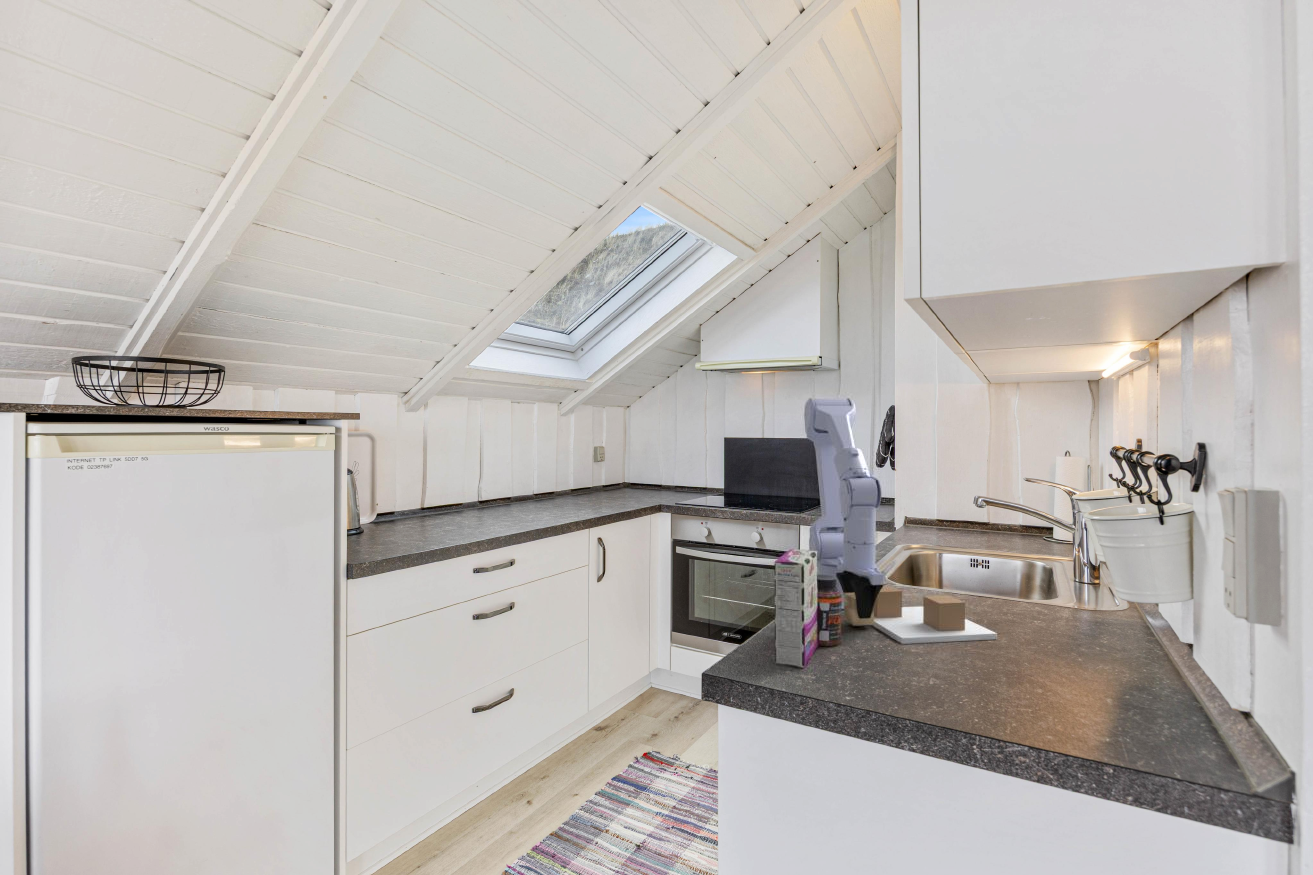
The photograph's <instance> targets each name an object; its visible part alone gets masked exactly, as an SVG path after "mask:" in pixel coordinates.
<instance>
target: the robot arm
mask: <svg viewBox="0 0 1313 875" xmlns="http://www.w3.org/2000/svg"><path fill="white" fill-rule="evenodd" d="M856 410H857V409H856V405H855V402H854V401H853V399H852V398H850V397H849V398H813V397H809V398H808V399H807V401H806V402H805V405H804V413H803V414H804V415H803V417H804V418H803V419H804V429H805V434H806V439H808V440H809V441H811V442H813V446H814V450H815V458H816V460H815V461H816V470H817V471H816V472H817V480H818V481H817V482H818V490H819V501H820V504H819V505H820V513H821V514H820V515H821V516H820V517H819V518H818V519H816V520H815V521H814V522H812V523H811V525H810V528H809V538H808V539H809V540H808V548H809V550H810V551H817V575H829V576H833V577H835V578H836V587H837V589H838V590H839V591H840V592H841V601H842V603H841V610H844V593H855V597H856V605H857V613H858V617H859V618H860V619H863V618H871V614H872V611H873V607H874V603H875V600H876V598H877V596H878V594H879V592H880V590H881V589H882V587H883V585H884V573H882V572H881V571H880V569H879V567H877V565H876V537H877V536H876V534H877V533H876V529H877V528H876V526H877V525H876V524H877V523H876V522H877V520H876V514H877V513H876V512H877V510H876V509H877V508H879V507H880V506H881V501H882V486H881V483H880V480H879V478H878V477H877V476H875V474H874V473H870V470H869V467H868V464H867V460H866V458H865V455H864V453H863V451H862V450H861V449H860V448H858V447H856V446H855V441H854V436H853V435H854V434H853V431H852V428H853V426H854V423H855V421H856V415H857V414H856V412H857V411H856Z"/></svg>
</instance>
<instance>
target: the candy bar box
mask: <svg viewBox="0 0 1313 875" xmlns="http://www.w3.org/2000/svg"><path fill="white" fill-rule="evenodd" d="M817 608H818V605H817V551H810V550H807V549H798V548H795V549H794V548H793V549H792V548H791V549H789V550H787V552H785V553H783V555H781V556H780V557H779V558H777V559H776V560H775V561H774V646H775V647H774V652H775V654H774V655H775V656H774V660H775V661H774V662H775V664H777V665H781V666H787V667H793V668H800V669H801V668H802V669H805V668H806V666H807V665H808V663H809V661H810V660H811V659H812V657H813V655H814V653H815V652H816V650H817V649H818V646H819V645H818V614H817V613H818V611H817Z"/></svg>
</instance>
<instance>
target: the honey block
mask: <svg viewBox="0 0 1313 875" xmlns="http://www.w3.org/2000/svg"><path fill="white" fill-rule="evenodd" d="M843 620H844V621H846V622H847V623H849V624H850V625H852V626H853V627H854V626H856V627H857V626H873V625H874V607H873V611H872V614H871V618H863V619H860V618H859V617H858V613H857V605H856V597H855V593H844V609H843Z"/></svg>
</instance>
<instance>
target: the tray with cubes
mask: <svg viewBox="0 0 1313 875" xmlns="http://www.w3.org/2000/svg"><path fill="white" fill-rule="evenodd" d="M872 627H874V628H876V629H878V630H879V631H881V633H884V634H885V635H887V636H888V637H890V638H892V639H894V640H896V642H899V643H900V644H901V645H905V644H907V645H908V644H928V643H943V642H944V643H948V642H964V641H965V642H967V641H969V642H970V641H985V640H987V641H988V640H998V633H997V632H995V631H993V630H991V629H988V628H986V627H984V626H982V625H980V624H977V623H975V622H973V621H971V620H969V619H967V618H966V602H965V601H963V600H960V599H958V598H956V597H953V596H951V595H947V594H946V595H923V604H922V606H903V591H902V590H900V589H898V588H896V587H894V586H892V585H889V584H883V587H882V589H881V590H880V592H879V594H878V596H877V598H876V600H875V603H874V625H872Z"/></svg>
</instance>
